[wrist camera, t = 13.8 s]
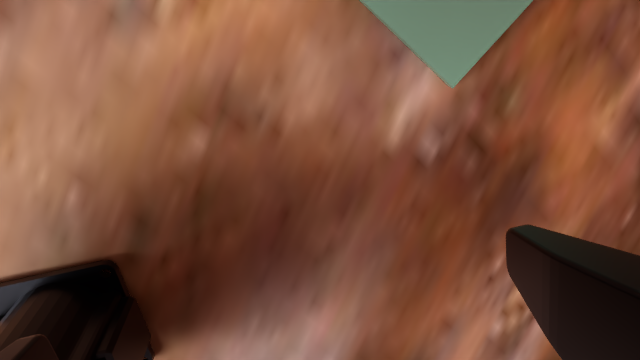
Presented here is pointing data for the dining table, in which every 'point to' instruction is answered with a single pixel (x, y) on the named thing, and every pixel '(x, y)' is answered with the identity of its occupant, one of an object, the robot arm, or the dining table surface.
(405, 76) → the dining table surface
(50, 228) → the dining table surface
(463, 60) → the circuit board
